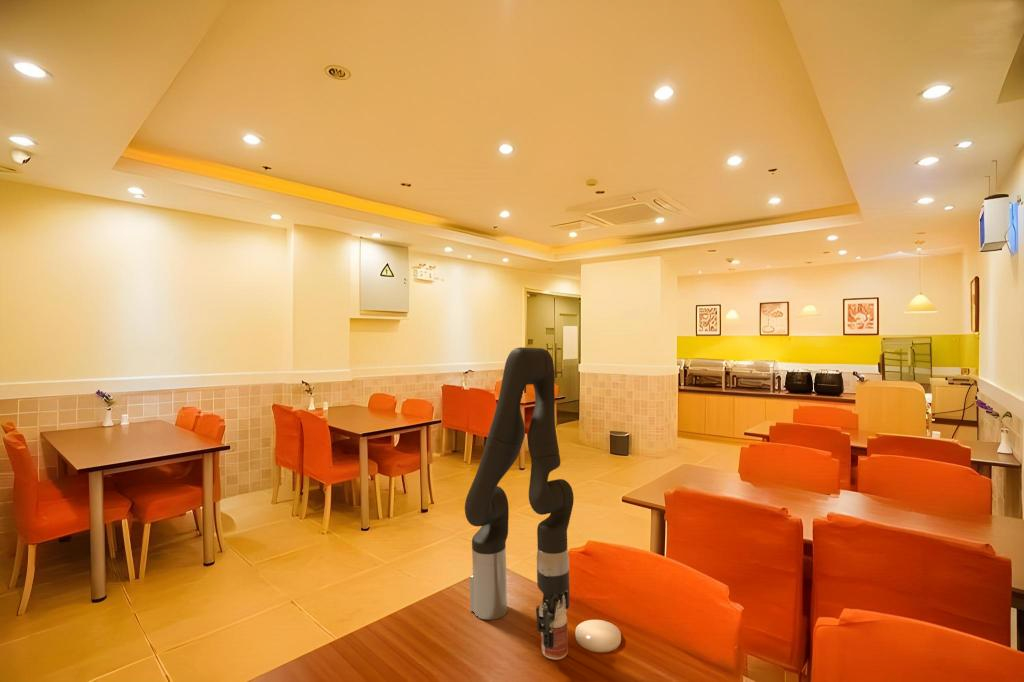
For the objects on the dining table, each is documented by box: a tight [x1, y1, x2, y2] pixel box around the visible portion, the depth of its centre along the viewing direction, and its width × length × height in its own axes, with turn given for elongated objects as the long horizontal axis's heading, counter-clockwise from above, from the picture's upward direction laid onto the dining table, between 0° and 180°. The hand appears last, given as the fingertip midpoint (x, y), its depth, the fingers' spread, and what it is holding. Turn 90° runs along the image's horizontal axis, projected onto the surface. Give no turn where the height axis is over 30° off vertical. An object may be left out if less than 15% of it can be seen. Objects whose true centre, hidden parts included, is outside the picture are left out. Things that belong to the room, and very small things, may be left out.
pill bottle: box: [540, 603, 569, 661], centre depth 108 cm, size 6×6×11 cm
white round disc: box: [574, 619, 622, 653], centre depth 114 cm, size 11×11×1 cm
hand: (554, 638), depth 108 cm, fingers closed on pill bottle, 6 cm apart
